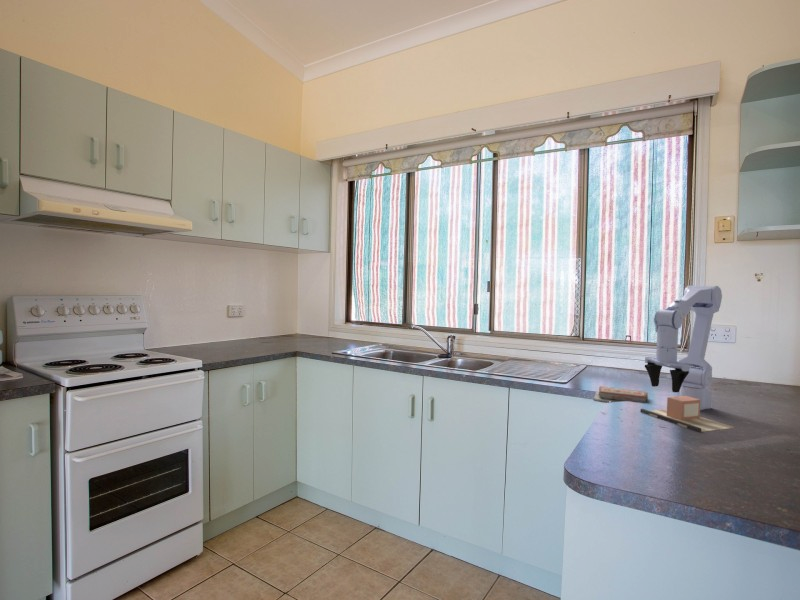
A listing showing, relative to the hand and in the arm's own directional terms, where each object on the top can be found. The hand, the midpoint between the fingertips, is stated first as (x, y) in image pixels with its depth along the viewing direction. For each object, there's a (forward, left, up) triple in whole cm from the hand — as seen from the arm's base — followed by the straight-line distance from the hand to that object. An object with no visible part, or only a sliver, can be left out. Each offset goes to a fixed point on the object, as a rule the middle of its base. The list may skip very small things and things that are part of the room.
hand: (665, 389), depth 141 cm
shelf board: (-4, +5, -10) cm, 12 cm away
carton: (-5, +3, -9) cm, 10 cm away
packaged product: (-5, -22, -11) cm, 25 cm away
